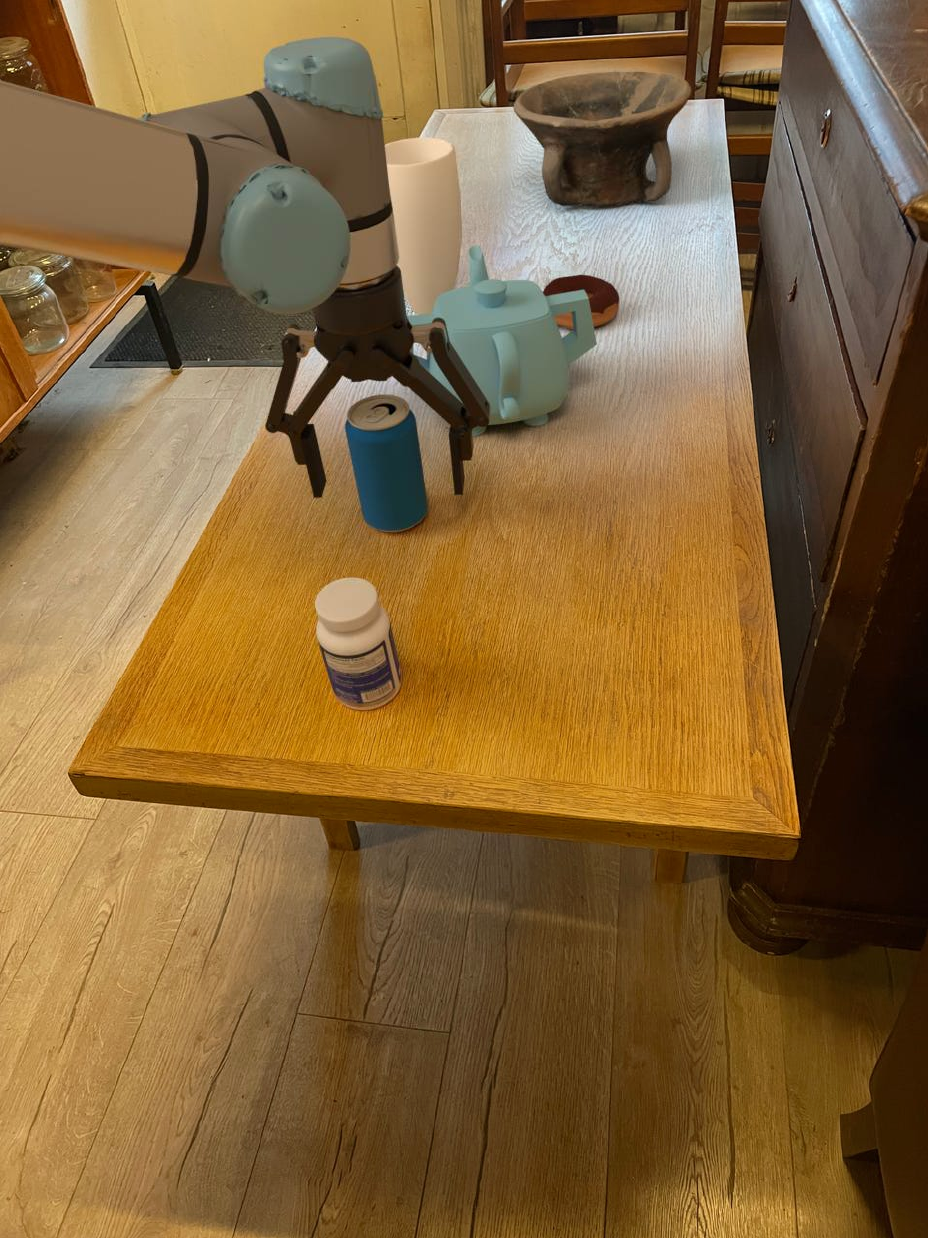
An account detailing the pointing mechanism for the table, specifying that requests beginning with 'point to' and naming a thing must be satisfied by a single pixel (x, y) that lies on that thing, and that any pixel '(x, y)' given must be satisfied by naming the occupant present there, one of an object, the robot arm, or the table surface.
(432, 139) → the cup
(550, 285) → the donut
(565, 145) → the brown clay pot
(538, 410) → the teapot
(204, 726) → the table surface
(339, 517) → the table surface
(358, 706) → the pill bottle
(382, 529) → the beverage can
